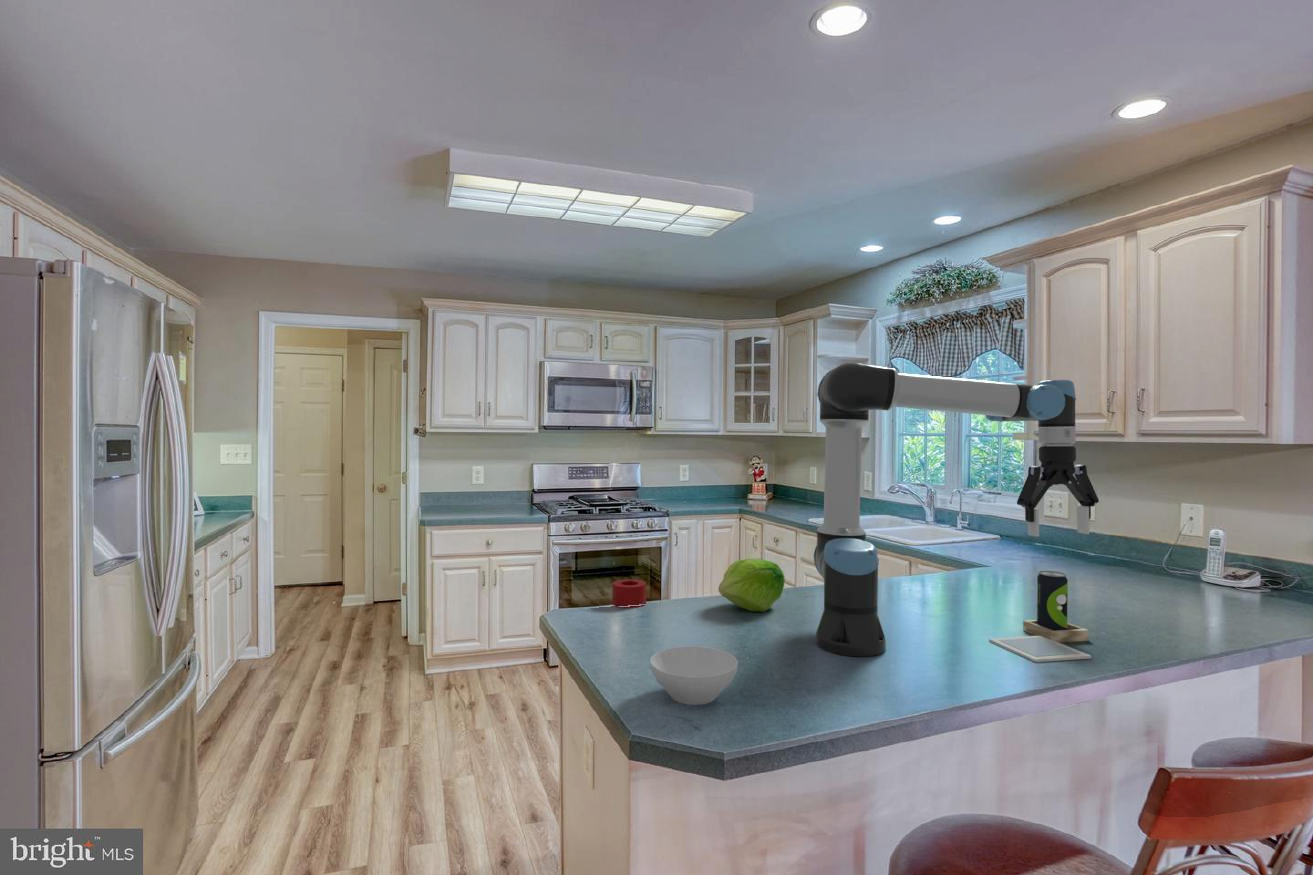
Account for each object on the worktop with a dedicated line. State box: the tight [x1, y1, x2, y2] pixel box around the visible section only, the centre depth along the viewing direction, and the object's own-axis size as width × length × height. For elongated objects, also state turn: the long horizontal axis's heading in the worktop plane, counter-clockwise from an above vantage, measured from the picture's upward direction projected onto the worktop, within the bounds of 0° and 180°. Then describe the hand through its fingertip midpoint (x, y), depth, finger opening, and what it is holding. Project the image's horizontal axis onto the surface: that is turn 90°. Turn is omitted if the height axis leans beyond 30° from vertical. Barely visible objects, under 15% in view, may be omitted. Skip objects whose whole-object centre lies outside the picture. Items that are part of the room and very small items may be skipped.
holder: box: [1022, 619, 1090, 644], centre depth 153 cm, size 10×10×2 cm
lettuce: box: [717, 558, 786, 613], centre depth 175 cm, size 15×20×14 cm
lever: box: [611, 578, 647, 609], centre depth 182 cm, size 18×9×7 cm, turn 175°
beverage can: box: [1036, 570, 1069, 631], centre depth 154 cm, size 6×6×15 cm
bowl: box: [649, 645, 739, 706], centre depth 116 cm, size 16×16×7 cm
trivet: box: [988, 635, 1092, 663], centre depth 143 cm, size 14×14×1 cm
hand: (1058, 534), depth 151 cm, fingers open, 13 cm apart
